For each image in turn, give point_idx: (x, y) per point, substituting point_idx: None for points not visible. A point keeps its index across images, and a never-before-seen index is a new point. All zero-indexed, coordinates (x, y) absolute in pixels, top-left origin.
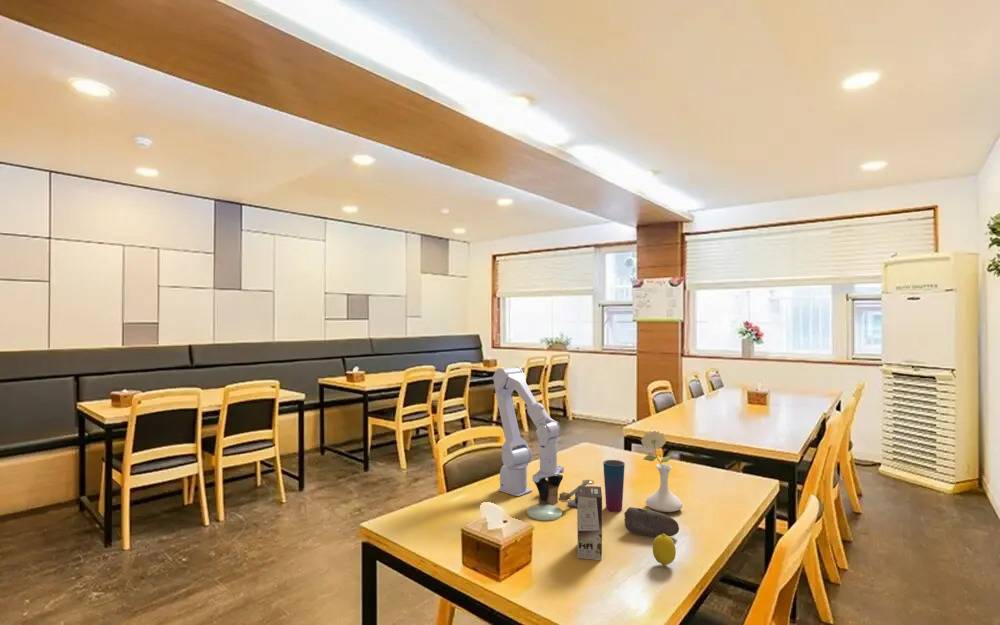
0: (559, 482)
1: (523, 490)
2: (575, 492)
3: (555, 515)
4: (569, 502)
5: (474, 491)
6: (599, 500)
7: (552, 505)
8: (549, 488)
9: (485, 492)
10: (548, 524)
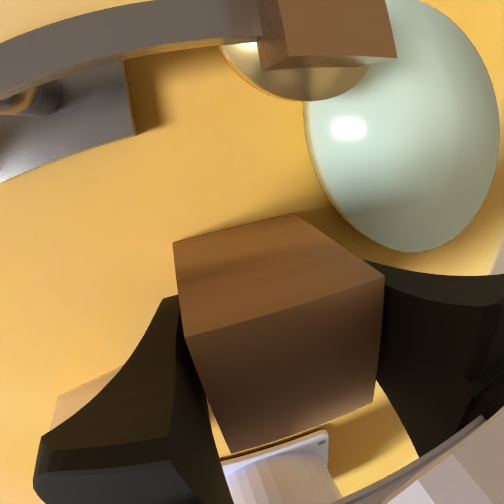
0: (127, 392)
1: (277, 465)
2: (49, 33)
3: (430, 14)
4: (122, 117)
5: (377, 478)
6: None
7: (327, 158)
8: (350, 317)
9: (365, 473)
10: (471, 19)
